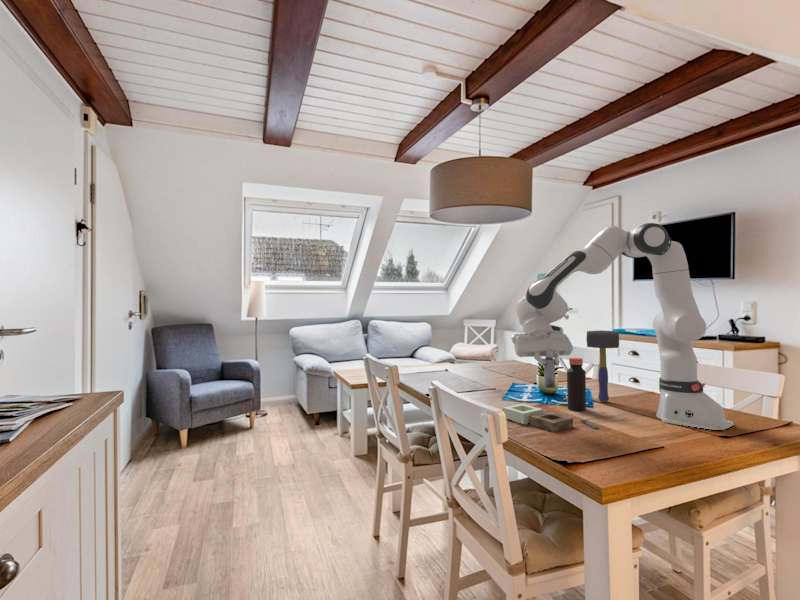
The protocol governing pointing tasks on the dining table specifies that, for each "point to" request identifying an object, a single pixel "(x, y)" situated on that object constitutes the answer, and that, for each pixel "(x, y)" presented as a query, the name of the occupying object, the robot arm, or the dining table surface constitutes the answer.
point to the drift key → (589, 424)
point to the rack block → (521, 412)
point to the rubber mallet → (603, 356)
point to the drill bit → (549, 369)
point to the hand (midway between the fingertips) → (550, 364)
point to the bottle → (576, 385)
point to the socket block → (551, 421)
